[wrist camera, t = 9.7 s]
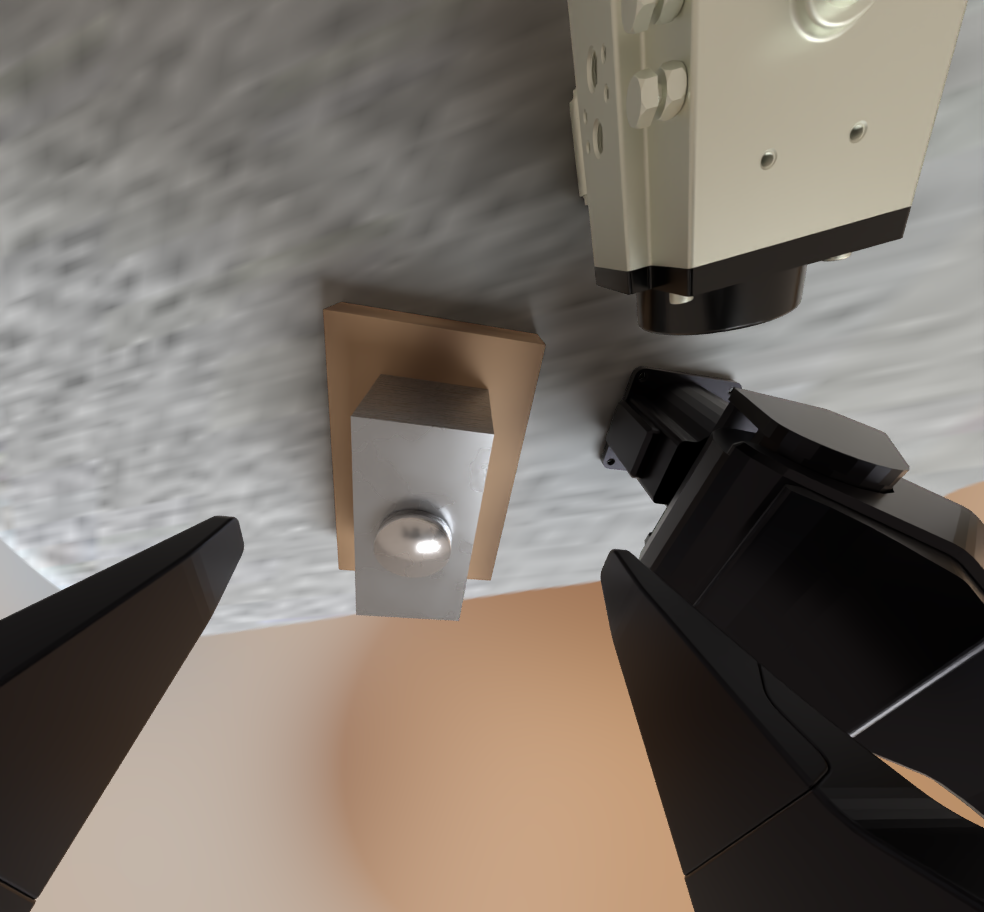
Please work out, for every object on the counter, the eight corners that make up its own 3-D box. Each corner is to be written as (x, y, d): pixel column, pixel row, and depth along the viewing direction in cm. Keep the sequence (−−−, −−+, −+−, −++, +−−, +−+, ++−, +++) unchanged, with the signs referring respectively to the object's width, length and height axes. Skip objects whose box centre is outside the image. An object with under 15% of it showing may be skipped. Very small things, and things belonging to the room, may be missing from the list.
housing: (460, 551, 23) (458, 634, 18) (378, 544, 23) (351, 629, 18) (488, 389, 18) (495, 444, 13) (380, 373, 17) (344, 426, 12)
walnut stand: (537, 333, 19) (545, 345, 17) (488, 553, 27) (490, 580, 25) (340, 301, 18) (323, 309, 16) (350, 542, 26) (338, 569, 23)
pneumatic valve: (665, -99, 12) (1775, -2058, 2) (669, 275, 18) (939, 313, 8) (507, -40, 13) (674, -1339, 2) (560, 306, 18) (675, 381, 8)
